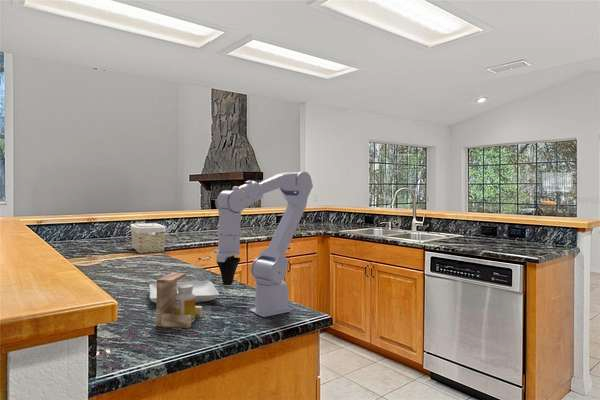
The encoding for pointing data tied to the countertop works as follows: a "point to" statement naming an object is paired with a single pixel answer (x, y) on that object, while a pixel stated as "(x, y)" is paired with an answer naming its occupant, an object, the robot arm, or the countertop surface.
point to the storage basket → (148, 237)
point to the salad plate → (200, 289)
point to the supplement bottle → (185, 301)
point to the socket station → (171, 303)
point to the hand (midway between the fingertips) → (227, 284)
